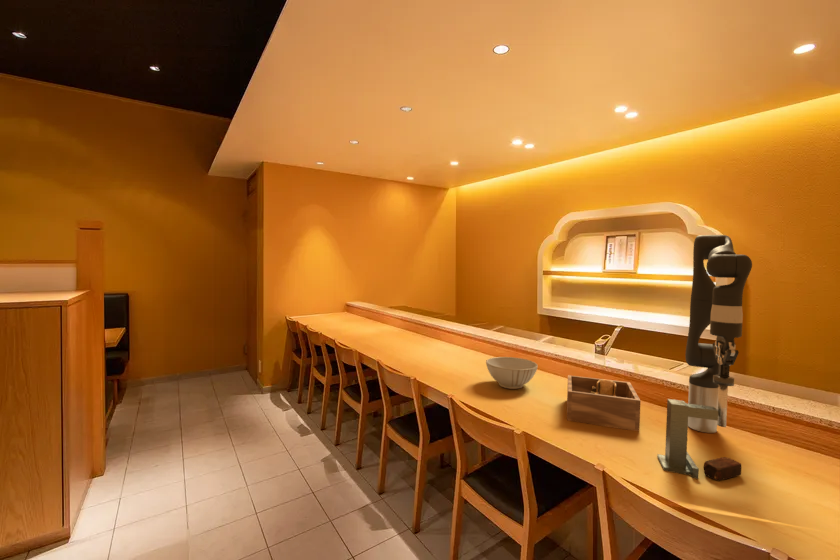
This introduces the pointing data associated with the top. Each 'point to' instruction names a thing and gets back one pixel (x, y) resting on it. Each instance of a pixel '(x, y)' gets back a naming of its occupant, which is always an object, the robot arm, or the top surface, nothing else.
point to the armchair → (605, 388)
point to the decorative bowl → (511, 371)
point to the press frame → (682, 436)
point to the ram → (722, 397)
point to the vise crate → (602, 404)
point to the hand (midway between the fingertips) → (723, 376)
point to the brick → (722, 468)
